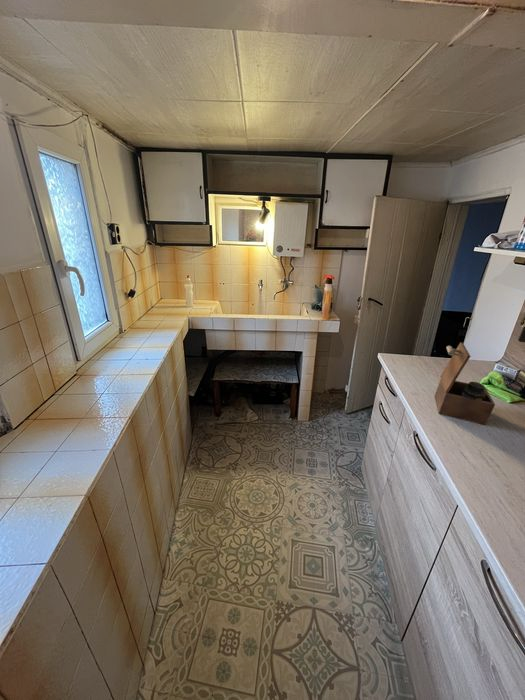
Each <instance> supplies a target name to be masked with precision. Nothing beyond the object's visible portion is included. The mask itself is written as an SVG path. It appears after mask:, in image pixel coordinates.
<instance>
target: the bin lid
mask: <svg viewBox="0 0 525 700" xmlns="http://www.w3.org/2000/svg"><path fill="white" fill-rule="evenodd" d="M445 347H446V351H447V354H448V355H449V356H451V358H450V359H449V361H448V362H447V364H446V366H445V367H444V370H443V371H442V372H441V374H440V379H441V380H442V383H443V387H444V390H445V392H446V393H448V392H449V390H450V388H451V387H452V385H453V384H454V382H455V381H457V379H458V377H459V375H460V374H461V373H462V371H463V369H464V367H465V366H466V365H467V363H468V361H469V360H470V358H471V354H470V353H469V351H468V349H467V348H466V346H465V344H464V342H462V341H461V342H459V344H458V345H457V347H456V348H453V346H451V345H447V346H445Z"/></svg>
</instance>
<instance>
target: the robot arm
mask: <svg viewBox="0 0 525 700" xmlns="http://www.w3.org/2000/svg"><path fill="white" fill-rule="evenodd" d="M519 325H520V326H521V330H520V331H521V332H520V334H519V336H518V338H517V341H518V342H520V343H525V313H524V314H523V317H521V321H520V323H519Z"/></svg>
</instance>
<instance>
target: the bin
mask: <svg viewBox="0 0 525 700" xmlns="http://www.w3.org/2000/svg"><path fill="white" fill-rule="evenodd" d="M468 384H469V382H463V381H459V380H455V382H454V384H453V385H452V387H451V388H450V390H449V392H448V393H446V392H445V390H444V387H443V383H442V380H441V378H440V380H439V382H438V385H437V388H436V391H435V393H434V401H435V404H436V410H437V413H438V415H441V416H446V417H450V418H455V419H459V420H462V421H467V422H471V423H474V424H475V423H476V424H479V425H484V426H486V425H487V423H488V421H489V418H490V416H491V415H492V412H493V410H494V408H495V406H496V404H495V402H494V400H493V398H492V396H491V394H490V393H489V390H488V389H487V388H486V387H485V388H484V390H483V391H482V392H483V393H484V397H483V399H482V401H481V400H477V399H472V398H467V397H463V396H462V393H463V390H464V388H466V387H468Z"/></svg>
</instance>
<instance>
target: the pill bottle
mask: <svg viewBox="0 0 525 700" xmlns="http://www.w3.org/2000/svg"><path fill="white" fill-rule="evenodd" d="M468 383H469V384H468V387H466V388H464V390H463V393H462V396H463V397H467V398H472V399H477V400H481V401H482V399H483V397H484V393H483V392H482V391H483V390H484V388H486V386H485V385H484V384H482V383H480V382H477V381H469V382H468Z"/></svg>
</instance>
